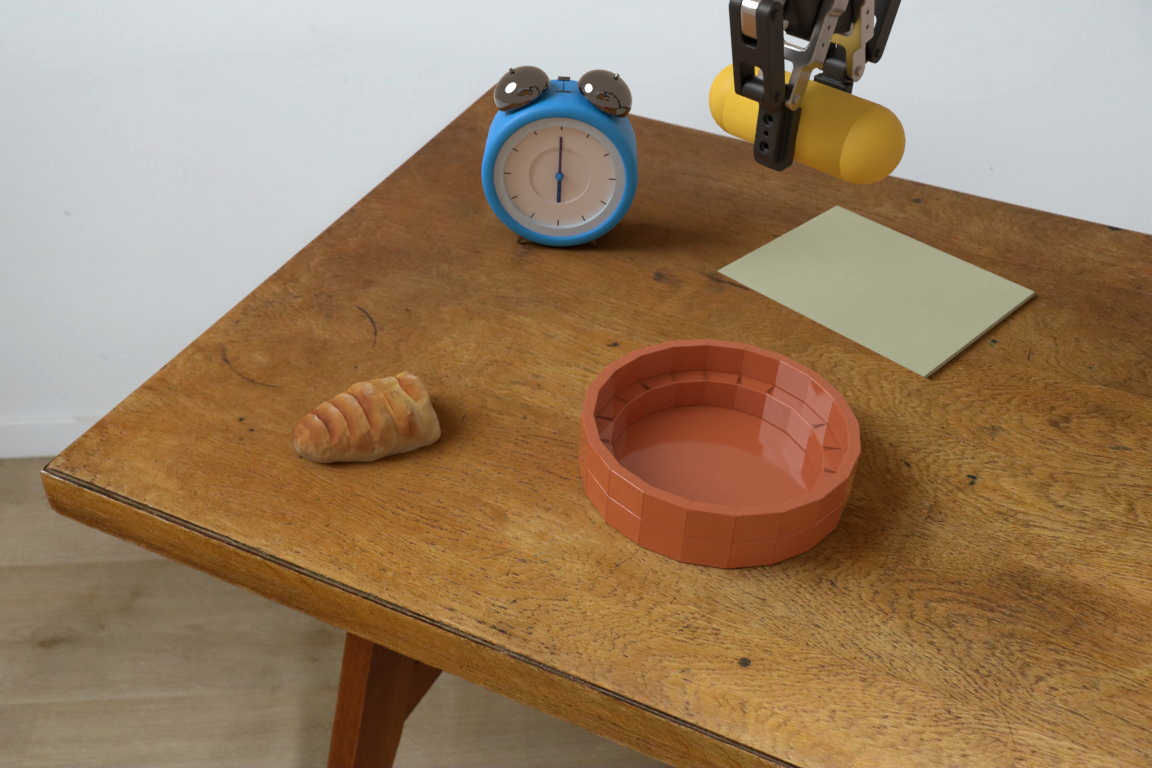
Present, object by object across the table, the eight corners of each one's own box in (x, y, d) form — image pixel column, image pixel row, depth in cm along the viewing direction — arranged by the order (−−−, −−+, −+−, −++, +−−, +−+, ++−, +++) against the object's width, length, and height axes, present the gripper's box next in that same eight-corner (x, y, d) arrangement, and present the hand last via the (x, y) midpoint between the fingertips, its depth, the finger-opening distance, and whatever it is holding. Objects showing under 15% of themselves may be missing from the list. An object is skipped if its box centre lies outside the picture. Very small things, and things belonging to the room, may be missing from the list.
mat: (836, 209, 105) (837, 205, 104) (1033, 296, 94) (1035, 291, 93) (700, 284, 93) (700, 279, 93) (907, 393, 82) (909, 388, 82)
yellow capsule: (689, 132, 66) (697, 60, 63) (735, 112, 68) (744, 42, 66) (868, 207, 59) (884, 130, 57) (911, 181, 62) (929, 106, 59)
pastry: (315, 490, 71) (309, 445, 69) (281, 431, 76) (274, 386, 73) (449, 447, 75) (447, 402, 73) (409, 393, 80) (406, 349, 77)
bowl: (695, 365, 84) (702, 310, 81) (896, 482, 74) (913, 424, 71) (524, 470, 73) (525, 411, 70) (732, 621, 64) (744, 561, 61)
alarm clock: (481, 246, 96) (479, 80, 87) (487, 212, 101) (487, 51, 92) (631, 254, 96) (646, 89, 87) (630, 219, 101) (644, 60, 92)
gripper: (834, -139, 47) (777, 216, 58) (995, -180, 55) (920, 138, 66) (697, -170, 51) (667, 168, 62) (867, -203, 60) (815, 99, 70)
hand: (798, 151), depth 64 cm, fingers closed on yellow capsule, 4 cm apart
